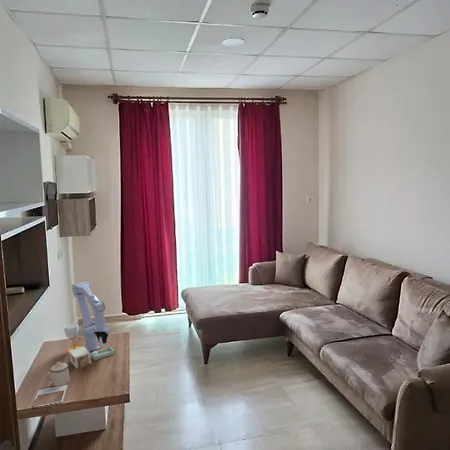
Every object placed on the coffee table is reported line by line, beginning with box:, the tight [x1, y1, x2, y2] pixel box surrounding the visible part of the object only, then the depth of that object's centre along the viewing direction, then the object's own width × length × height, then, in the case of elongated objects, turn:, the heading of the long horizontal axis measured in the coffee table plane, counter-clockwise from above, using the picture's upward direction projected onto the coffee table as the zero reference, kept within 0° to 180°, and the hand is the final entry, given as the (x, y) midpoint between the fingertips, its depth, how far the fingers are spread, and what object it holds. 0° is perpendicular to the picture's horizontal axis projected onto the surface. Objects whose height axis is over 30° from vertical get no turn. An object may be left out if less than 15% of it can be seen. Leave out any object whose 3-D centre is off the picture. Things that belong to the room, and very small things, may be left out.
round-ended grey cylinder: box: [99, 337, 107, 347], centre depth 258 cm, size 3×3×5 cm
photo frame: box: [34, 384, 68, 407], centre depth 215 cm, size 15×1×18 cm
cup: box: [64, 323, 81, 353], centre depth 273 cm, size 9×9×16 cm
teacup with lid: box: [45, 361, 70, 387], centre depth 228 cm, size 12×9×12 cm
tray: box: [90, 346, 116, 361], centre depth 260 cm, size 8×13×4 cm, turn 125°
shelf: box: [68, 345, 92, 369], centre depth 252 cm, size 13×9×7 cm
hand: (102, 342), depth 258 cm, fingers closed on round-ended grey cylinder, 3 cm apart
